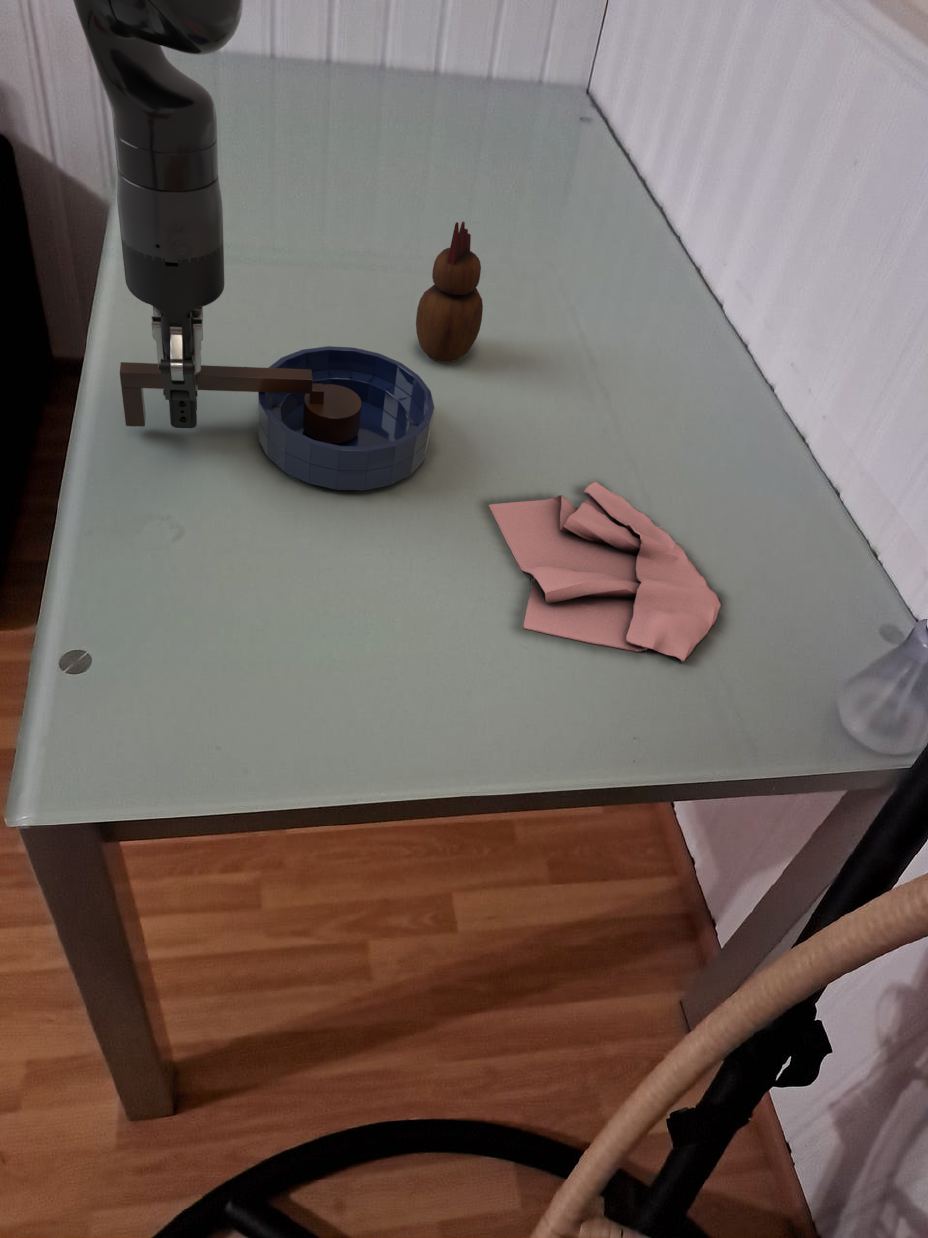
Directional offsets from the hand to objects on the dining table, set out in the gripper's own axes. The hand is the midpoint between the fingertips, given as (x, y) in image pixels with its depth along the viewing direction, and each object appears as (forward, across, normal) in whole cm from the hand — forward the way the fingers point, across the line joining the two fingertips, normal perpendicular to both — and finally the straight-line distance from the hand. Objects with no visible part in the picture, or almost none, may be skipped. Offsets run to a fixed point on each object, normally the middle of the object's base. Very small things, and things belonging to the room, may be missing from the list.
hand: (184, 417), depth 85 cm
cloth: (+2, +17, +35) cm, 39 cm away
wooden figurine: (+2, -15, +26) cm, 30 cm away
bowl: (+2, 0, +14) cm, 14 cm away
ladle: (+1, 0, +5) cm, 5 cm away
